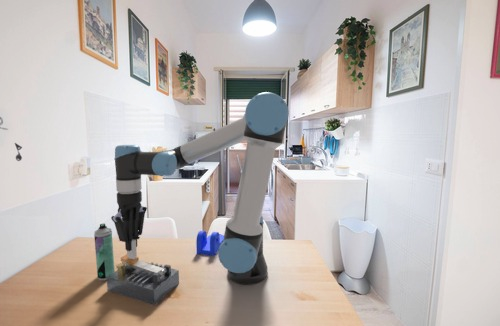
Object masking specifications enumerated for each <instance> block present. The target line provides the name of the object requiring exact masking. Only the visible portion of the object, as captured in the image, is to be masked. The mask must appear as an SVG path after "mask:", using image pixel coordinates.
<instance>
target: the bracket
mask: <svg viewBox="0 0 500 326" xmlns="http://www.w3.org/2000/svg"><path fill="white" fill-rule="evenodd" d="M196 235H197V236H196V241H195V243H196V245H195V246H196V254H197V255H207V256H216V254H218V250H219V246H220V244H221V243H222V242H223V238H224V234H221V233H220V232H218V231H212V233H211V234H209V235H207V232H206V230H199V231H198V232H197V234H196Z"/></svg>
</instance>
